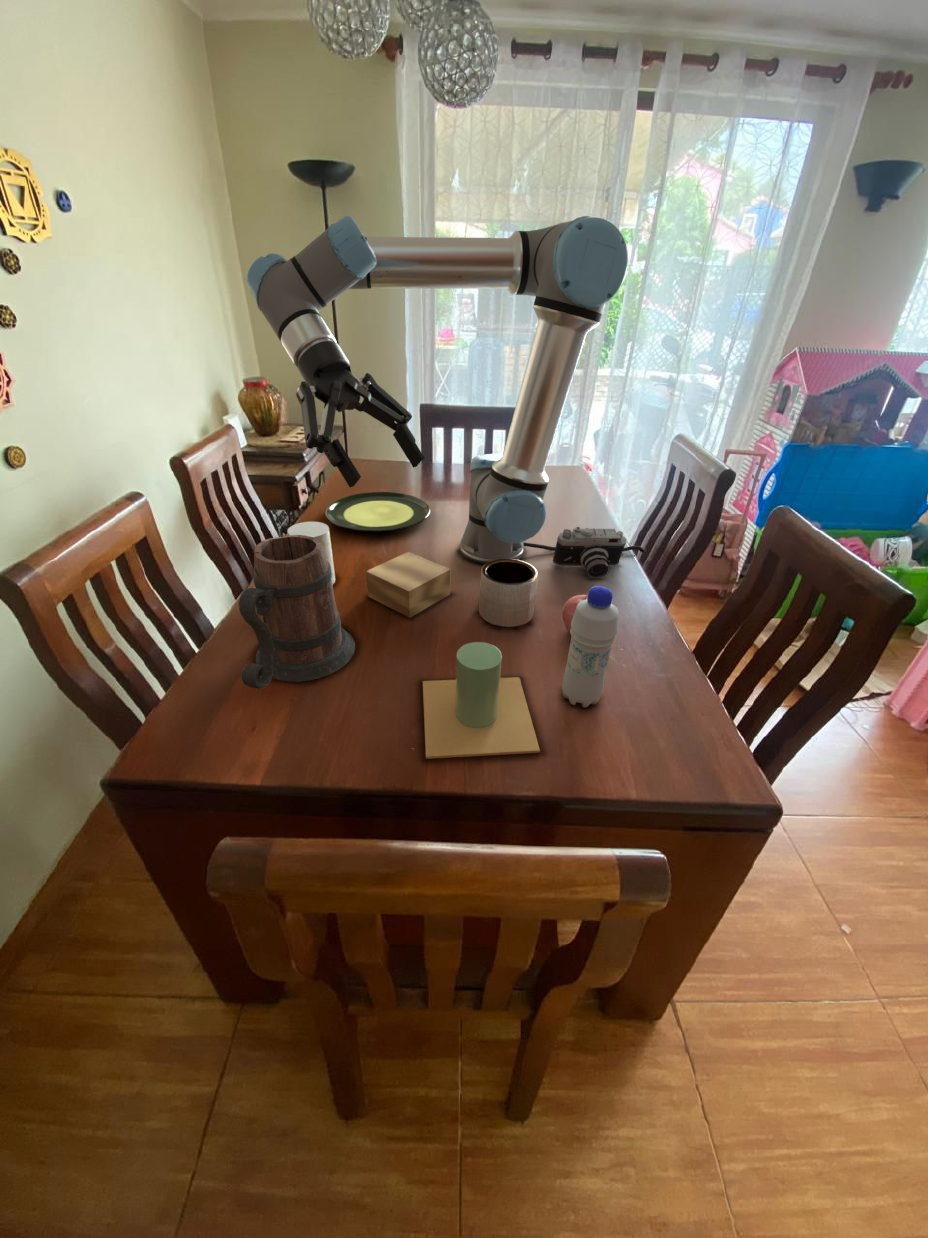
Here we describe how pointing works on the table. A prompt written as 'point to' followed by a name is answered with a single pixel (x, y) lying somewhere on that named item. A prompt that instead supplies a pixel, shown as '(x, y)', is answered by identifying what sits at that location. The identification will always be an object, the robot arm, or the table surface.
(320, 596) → the tankard
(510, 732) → the cork mat
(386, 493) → the plate
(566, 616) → the apple
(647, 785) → the table surface
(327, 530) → the cup
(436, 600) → the plate
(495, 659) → the canister
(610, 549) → the camera
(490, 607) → the planter
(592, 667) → the bottle
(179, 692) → the table surface
